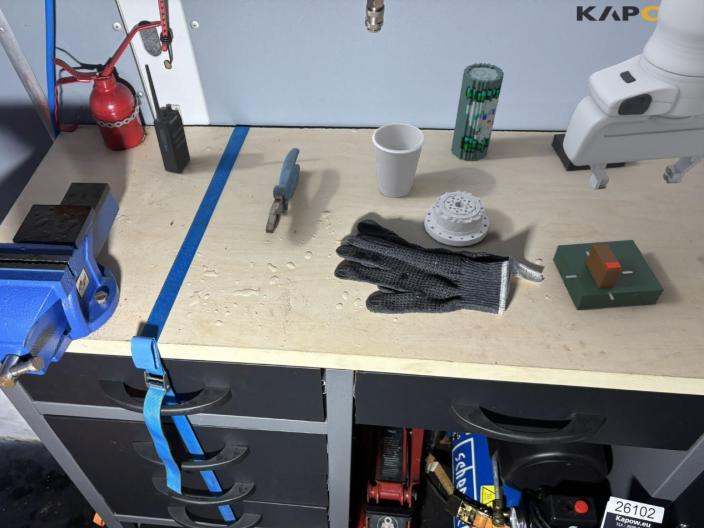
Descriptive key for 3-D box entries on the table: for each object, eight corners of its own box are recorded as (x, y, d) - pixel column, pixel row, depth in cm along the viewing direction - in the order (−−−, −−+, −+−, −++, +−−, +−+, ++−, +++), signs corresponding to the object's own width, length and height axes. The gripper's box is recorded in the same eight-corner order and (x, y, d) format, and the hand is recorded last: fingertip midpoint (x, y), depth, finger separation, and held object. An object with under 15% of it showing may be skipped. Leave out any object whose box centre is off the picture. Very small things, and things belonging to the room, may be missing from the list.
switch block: (606, 140, 109) (613, 121, 106) (624, 166, 104) (632, 147, 101) (551, 144, 109) (557, 125, 106) (566, 171, 104) (573, 151, 101)
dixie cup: (426, 198, 101) (433, 147, 93) (378, 206, 100) (381, 155, 93) (410, 169, 106) (415, 119, 99) (364, 177, 106) (366, 126, 98)
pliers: (277, 247, 95) (273, 219, 90) (263, 246, 95) (260, 217, 90) (303, 171, 107) (301, 143, 103) (291, 170, 108) (289, 142, 103)
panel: (625, 254, 90) (633, 238, 88) (659, 310, 83) (668, 294, 80) (545, 260, 90) (550, 244, 88) (571, 316, 83) (578, 301, 80)
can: (467, 164, 107) (481, 85, 95) (445, 148, 110) (456, 70, 99) (493, 153, 108) (511, 74, 97) (471, 137, 112) (485, 59, 101)
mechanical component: (432, 201, 100) (416, 239, 94) (435, 179, 97) (419, 217, 91) (493, 213, 98) (481, 254, 92) (498, 191, 94) (486, 232, 88)
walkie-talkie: (180, 175, 109) (154, 69, 94) (164, 171, 109) (136, 66, 95) (193, 160, 111) (170, 55, 97) (177, 156, 112) (152, 52, 97)
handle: (585, 262, 85) (593, 243, 82) (599, 261, 85) (608, 242, 82) (598, 288, 82) (607, 269, 79) (613, 287, 82) (623, 268, 79)
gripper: (755, 60, 69) (703, 162, 79) (575, 75, 69) (547, 175, 79) (788, 88, 64) (728, 192, 75) (596, 104, 65) (563, 205, 75)
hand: (633, 183), depth 77 cm, fingers open, 8 cm apart
